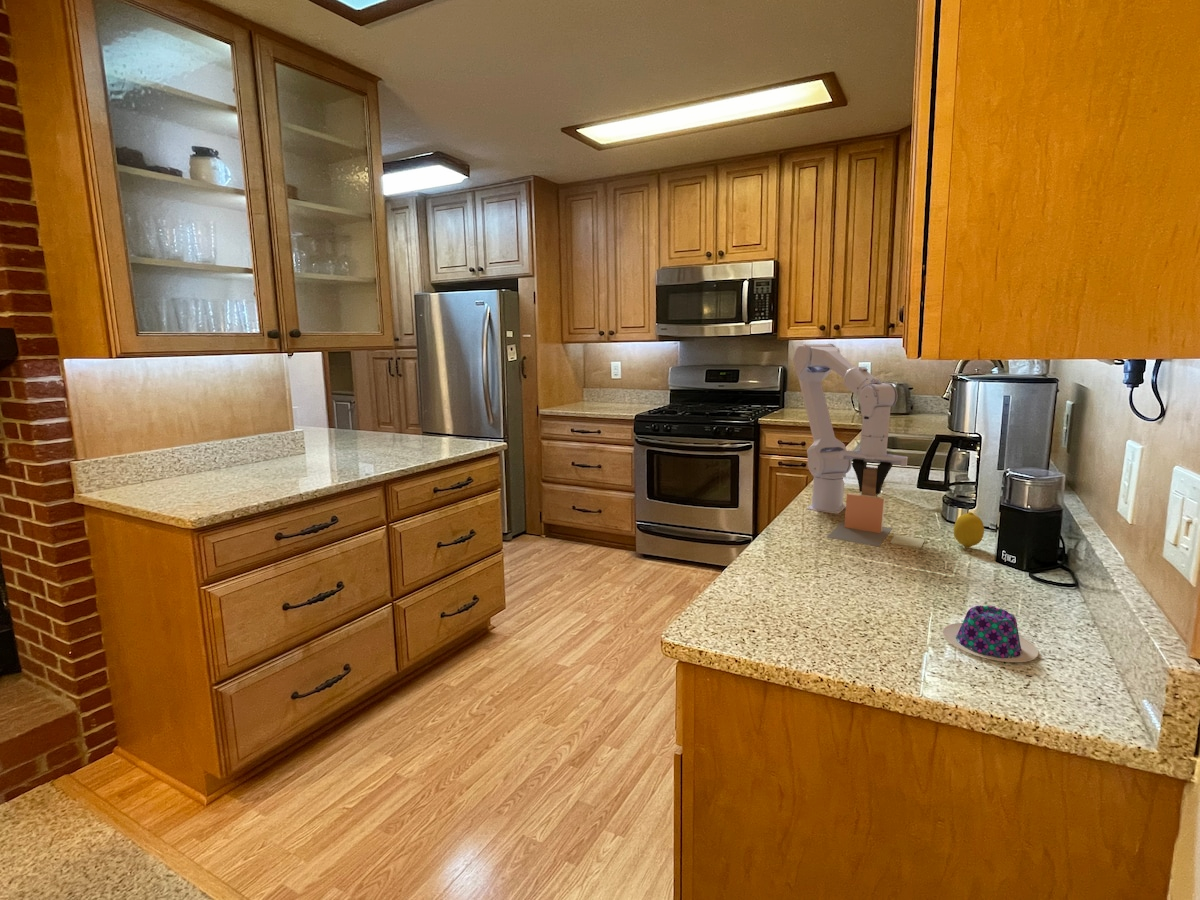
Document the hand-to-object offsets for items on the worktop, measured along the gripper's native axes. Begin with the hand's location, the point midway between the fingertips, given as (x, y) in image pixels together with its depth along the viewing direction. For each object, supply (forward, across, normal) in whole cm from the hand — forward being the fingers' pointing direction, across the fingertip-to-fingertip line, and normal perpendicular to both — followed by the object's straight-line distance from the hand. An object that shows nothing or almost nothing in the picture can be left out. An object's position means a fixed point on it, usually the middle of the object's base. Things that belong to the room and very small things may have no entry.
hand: (869, 492), depth 146 cm
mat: (+8, 0, -8) cm, 11 cm away
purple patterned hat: (+9, +27, -52) cm, 59 cm away
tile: (+8, 0, -4) cm, 9 cm away
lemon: (+9, +21, -4) cm, 23 cm away
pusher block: (+2, 0, 0) cm, 2 cm away
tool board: (+8, +10, -8) cm, 16 cm away
